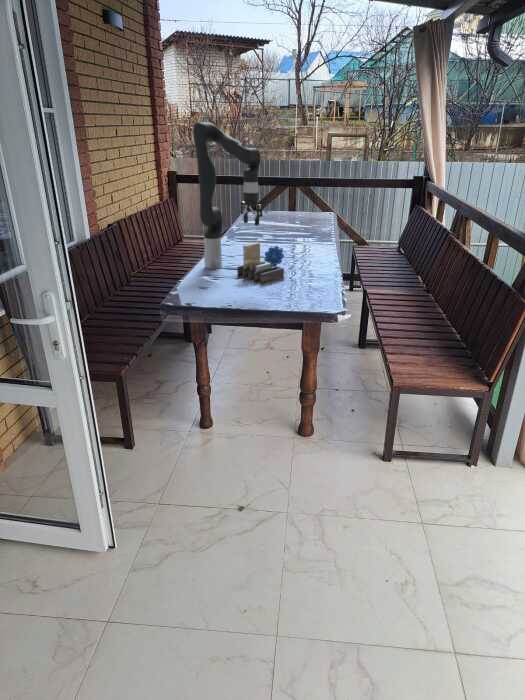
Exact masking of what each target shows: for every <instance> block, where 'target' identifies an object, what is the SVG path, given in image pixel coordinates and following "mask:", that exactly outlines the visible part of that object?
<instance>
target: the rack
mask: <svg viewBox="0 0 525 700" xmlns="http://www.w3.org/2000/svg"><path fill="white" fill-rule="evenodd" d="M236 268H237V269H236V273H237V274H236V275H234V277H236V278H240V279H242V280H245V281H249V282H252V283H254V284H258V285H260V286H265V285H268V284H271V283H275V282H278V281H282V280H285V279H287V277H286V276H285V268H284V267H281V268H279V266H278V265H277V266H273V265H271V268H268V269H264V270H261V271H257V272H256V269H252V270H250V267H247V268H244V264H242V265H240V266H237V267H236Z"/></svg>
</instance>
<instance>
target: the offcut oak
mask: <svg viewBox="0 0 525 700" xmlns="http://www.w3.org/2000/svg"><path fill="white" fill-rule="evenodd" d="M265 263H266V262H265V260H260V262H256V263H252V264H250V270H252V269H256V266H257V265H261V264H265Z"/></svg>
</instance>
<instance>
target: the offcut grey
mask: <svg viewBox="0 0 525 700" xmlns="http://www.w3.org/2000/svg"><path fill="white" fill-rule="evenodd" d="M268 268H271V263H267V262H265V264H261V265H257V266H256V272H257V271H261V270H264V269H268Z"/></svg>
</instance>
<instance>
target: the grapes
mask: <svg viewBox="0 0 525 700" xmlns="http://www.w3.org/2000/svg"><path fill="white" fill-rule="evenodd" d="M283 252H284V250H283V248H279V246H278V245H275V246H273V247H272V246H270V247H269V248H268V250H266V252H264V256H265V257H264V260H263V261H264V262H265V263H271V265H272V266H273V267H276V266H278V265H281V264H282V261H283V259H284V258H285V254H284V253H283Z"/></svg>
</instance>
